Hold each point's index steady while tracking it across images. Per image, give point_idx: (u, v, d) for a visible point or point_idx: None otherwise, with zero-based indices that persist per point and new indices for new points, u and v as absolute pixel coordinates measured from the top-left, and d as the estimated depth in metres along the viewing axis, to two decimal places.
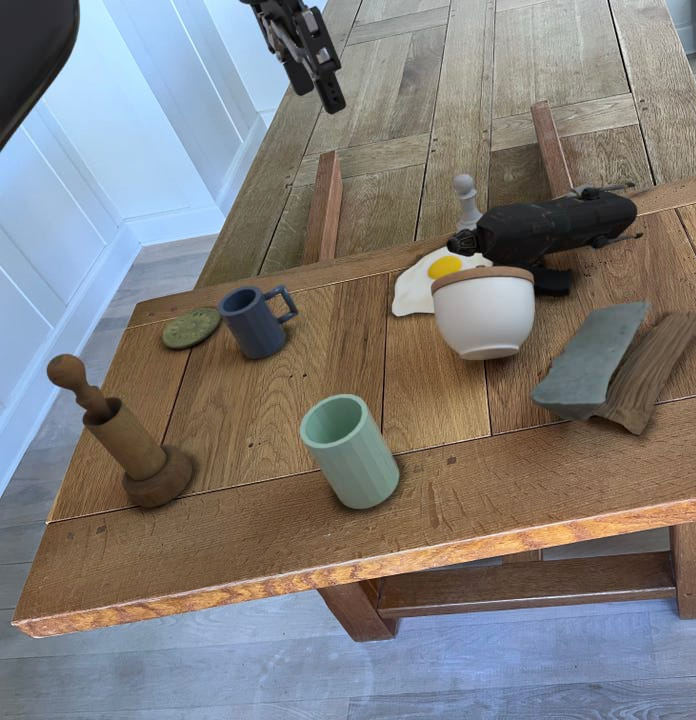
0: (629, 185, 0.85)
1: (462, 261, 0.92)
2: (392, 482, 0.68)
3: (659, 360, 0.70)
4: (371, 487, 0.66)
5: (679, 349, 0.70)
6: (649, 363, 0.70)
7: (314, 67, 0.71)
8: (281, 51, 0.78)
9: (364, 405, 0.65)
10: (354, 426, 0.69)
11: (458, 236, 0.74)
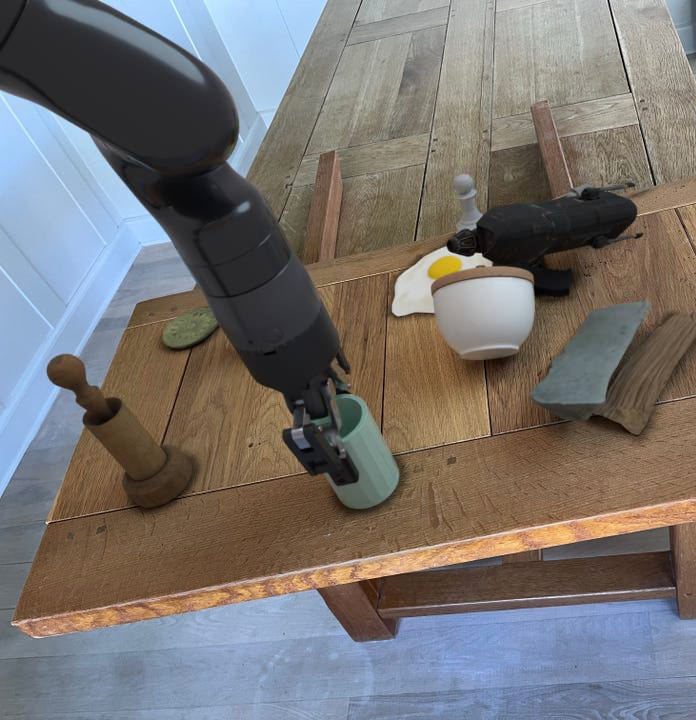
0: (629, 185, 0.85)
1: (462, 261, 0.92)
2: (392, 482, 0.68)
3: (660, 360, 0.70)
4: (371, 487, 0.66)
5: (681, 350, 0.70)
6: (651, 363, 0.70)
7: None
8: None
9: (364, 405, 0.65)
10: (354, 426, 0.69)
11: (458, 236, 0.74)
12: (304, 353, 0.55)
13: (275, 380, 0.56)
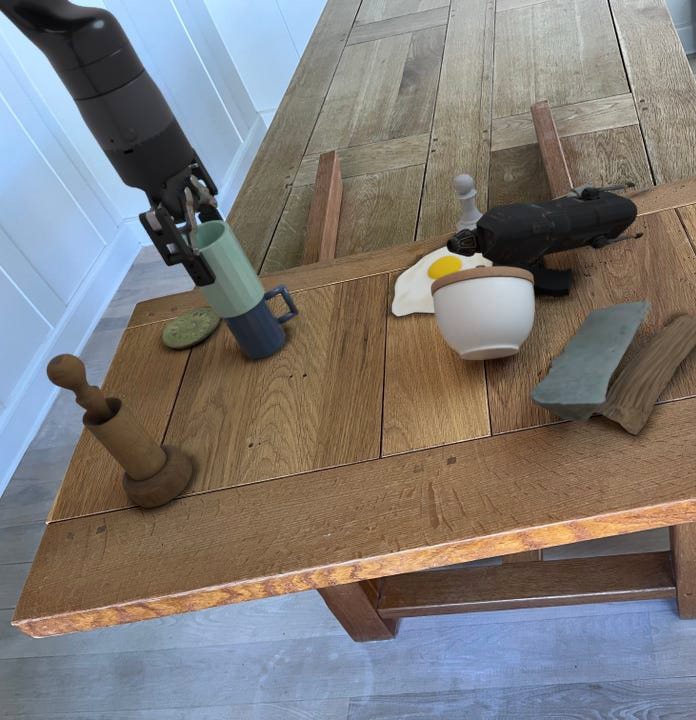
0: (629, 185, 0.85)
1: (462, 261, 0.92)
2: (256, 296, 0.84)
3: (663, 361, 0.70)
4: (235, 296, 0.82)
5: (684, 351, 0.70)
6: (653, 364, 0.70)
7: None
8: None
9: (227, 225, 0.80)
10: None
11: (458, 236, 0.74)
12: (157, 154, 0.70)
13: (136, 178, 0.71)
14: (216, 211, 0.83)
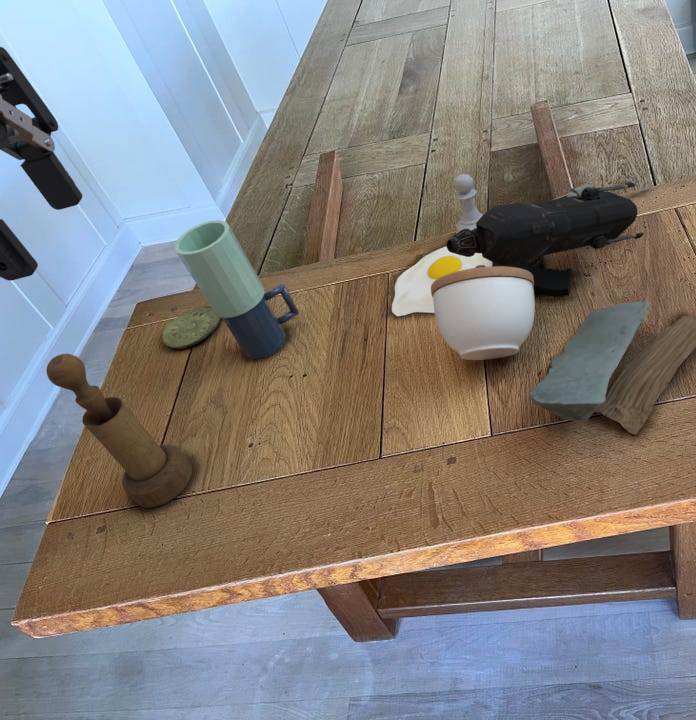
0: (629, 185, 0.85)
1: (462, 261, 0.92)
2: (256, 296, 0.84)
3: (664, 361, 0.70)
4: (235, 296, 0.82)
5: (686, 352, 0.70)
6: (654, 364, 0.70)
7: None
8: (2, 148, 0.49)
9: (227, 225, 0.80)
10: None
11: (458, 236, 0.74)
12: None
13: None
14: (51, 157, 0.50)
